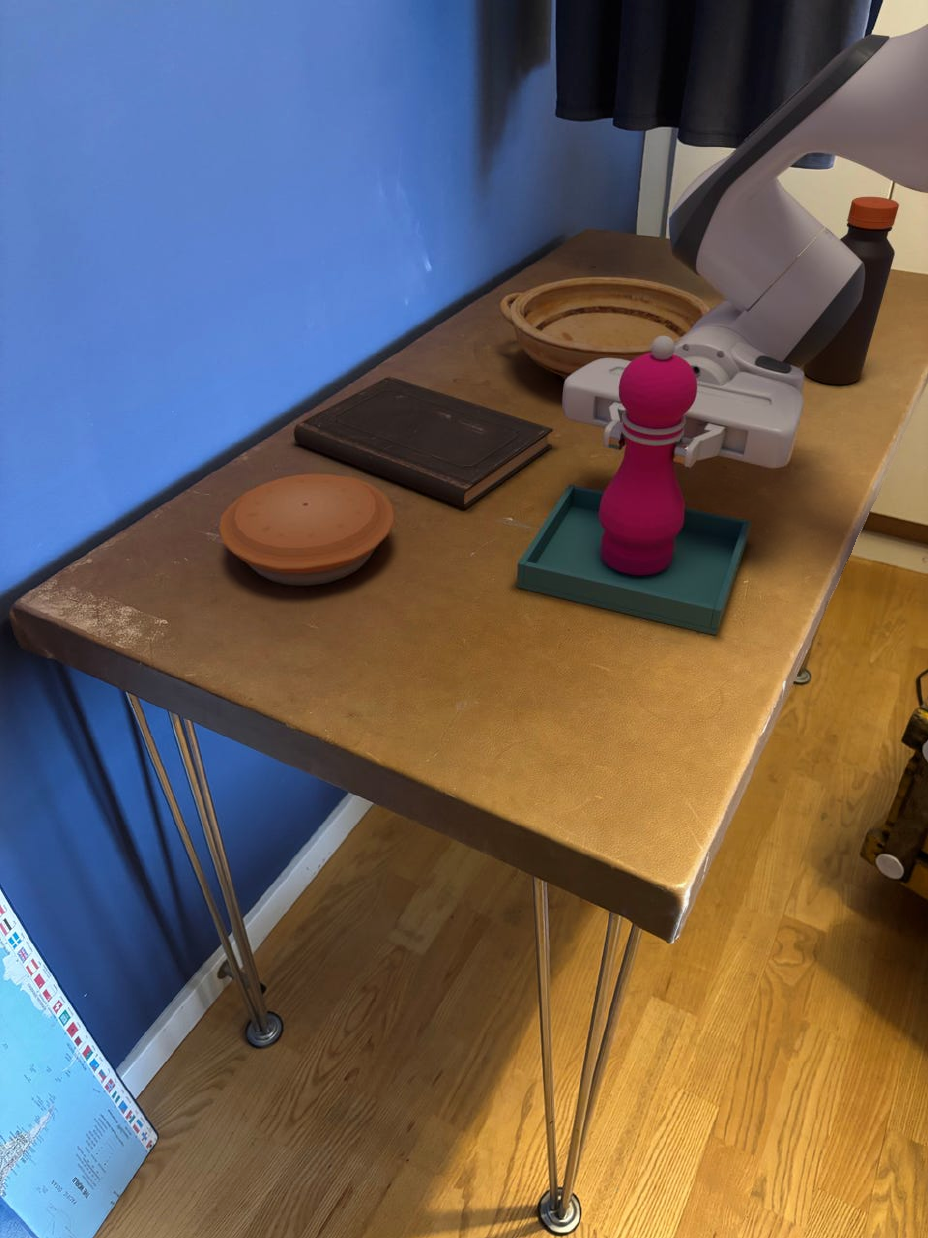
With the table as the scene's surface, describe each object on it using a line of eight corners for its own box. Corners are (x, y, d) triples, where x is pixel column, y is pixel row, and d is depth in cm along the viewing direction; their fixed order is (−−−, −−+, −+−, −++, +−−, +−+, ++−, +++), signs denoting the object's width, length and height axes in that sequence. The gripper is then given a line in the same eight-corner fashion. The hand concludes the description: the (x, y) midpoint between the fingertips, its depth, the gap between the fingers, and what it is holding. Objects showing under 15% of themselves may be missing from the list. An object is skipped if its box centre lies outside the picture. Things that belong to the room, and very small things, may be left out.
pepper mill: (592, 575, 79) (613, 352, 66) (597, 529, 84) (618, 316, 72) (677, 583, 78) (715, 358, 65) (677, 536, 83) (712, 321, 70)
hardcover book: (389, 393, 109) (388, 375, 108) (551, 447, 99) (552, 428, 97) (294, 445, 99) (292, 426, 98) (463, 511, 89) (462, 491, 87)
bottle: (801, 381, 111) (842, 207, 99) (804, 360, 116) (843, 191, 103) (860, 389, 109) (909, 212, 97) (860, 366, 114) (907, 196, 102)
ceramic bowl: (753, 364, 115) (765, 301, 110) (679, 441, 99) (690, 372, 94) (547, 319, 128) (550, 260, 123) (453, 381, 112) (451, 317, 107)
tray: (745, 544, 84) (751, 520, 82) (716, 635, 74) (721, 610, 72) (567, 507, 89) (569, 484, 87) (516, 587, 79) (517, 563, 77)
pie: (191, 553, 83) (180, 506, 80) (323, 489, 92) (318, 445, 89) (296, 626, 75) (288, 576, 72) (430, 548, 84) (428, 501, 81)
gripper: (599, 329, 85) (532, 385, 75) (824, 373, 77) (780, 442, 67) (594, 393, 89) (530, 453, 79) (807, 441, 81) (763, 515, 71)
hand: (646, 449), depth 73 cm, fingers closed on pepper mill, 5 cm apart
